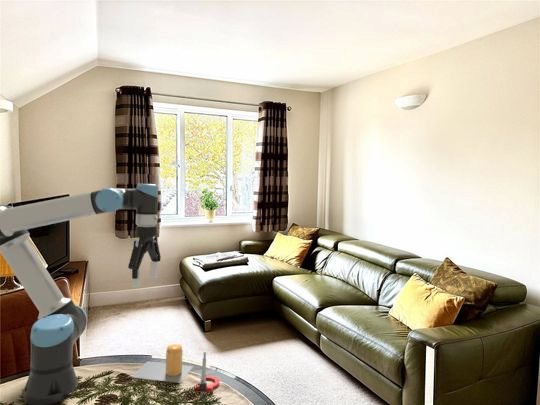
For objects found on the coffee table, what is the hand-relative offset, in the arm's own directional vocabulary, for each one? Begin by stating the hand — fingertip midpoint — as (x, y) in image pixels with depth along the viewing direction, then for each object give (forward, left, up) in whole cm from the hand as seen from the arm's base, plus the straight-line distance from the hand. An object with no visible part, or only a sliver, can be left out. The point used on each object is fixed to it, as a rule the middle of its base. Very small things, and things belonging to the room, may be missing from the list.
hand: (145, 282), depth 136 cm
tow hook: (+27, -7, -32) cm, 42 cm away
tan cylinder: (+14, -5, -30) cm, 34 cm away
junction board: (+10, -5, -32) cm, 34 cm away
